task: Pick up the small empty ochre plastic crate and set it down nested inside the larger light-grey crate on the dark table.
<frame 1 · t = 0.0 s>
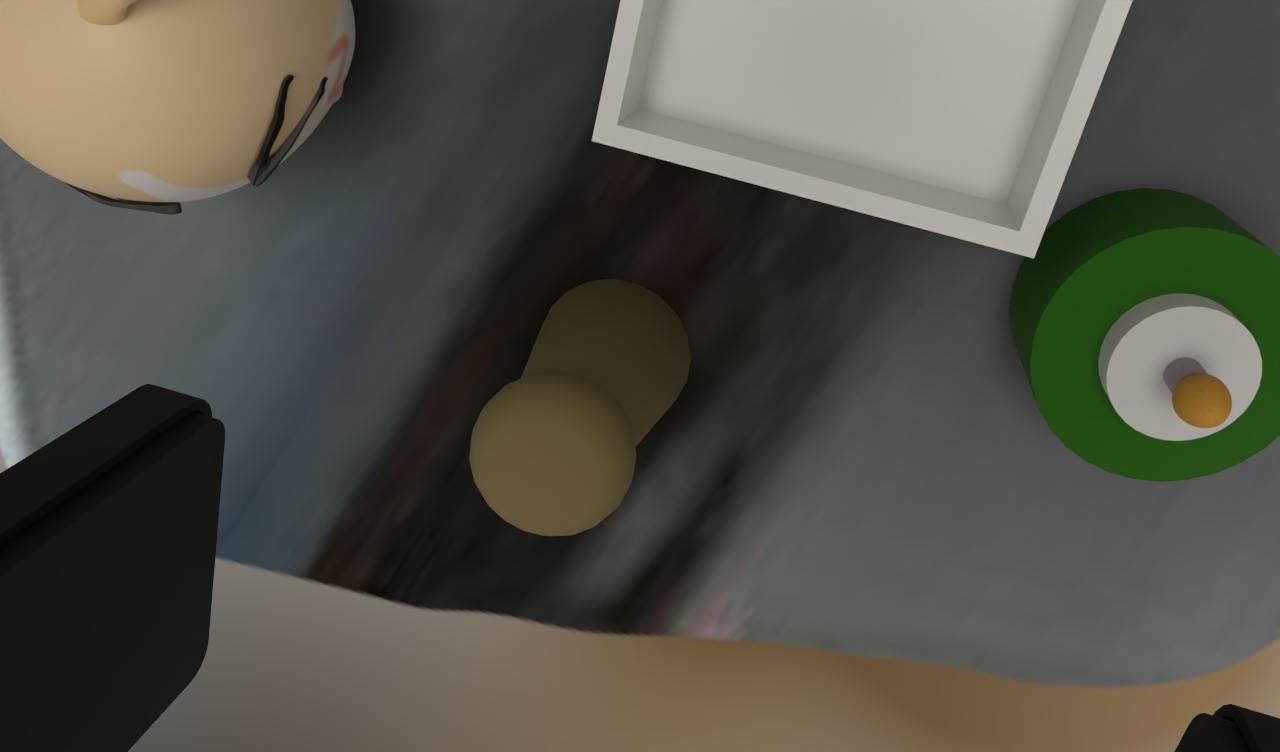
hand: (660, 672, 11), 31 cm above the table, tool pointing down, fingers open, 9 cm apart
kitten: (278, 23, 41), on the table
candle: (1131, 303, 39), on the table
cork: (615, 351, 44), on the table
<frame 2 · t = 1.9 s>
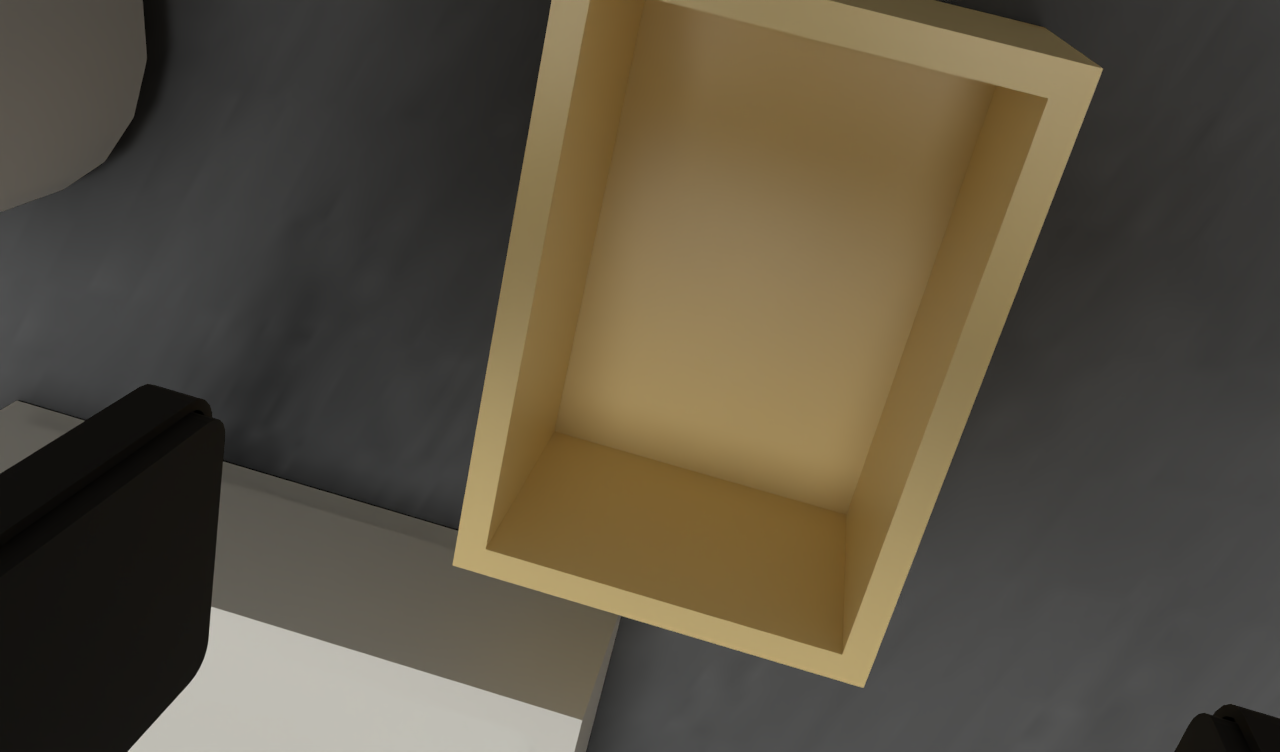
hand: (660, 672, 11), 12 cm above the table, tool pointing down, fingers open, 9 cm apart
large crate: (289, 733, 28), on the table
small crate: (759, 254, 21), on the table
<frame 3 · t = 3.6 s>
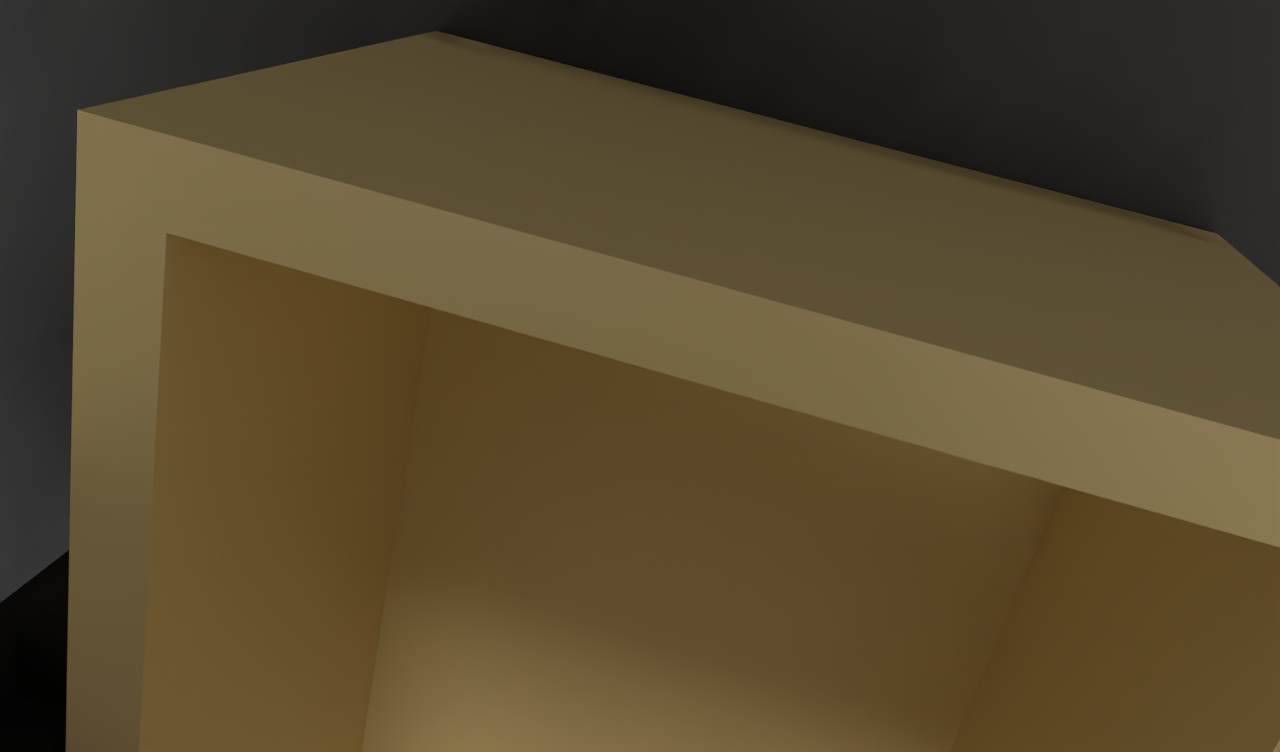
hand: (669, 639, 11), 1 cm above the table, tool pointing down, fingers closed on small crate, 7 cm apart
small crate: (681, 596, 12), on the table, touching gripper
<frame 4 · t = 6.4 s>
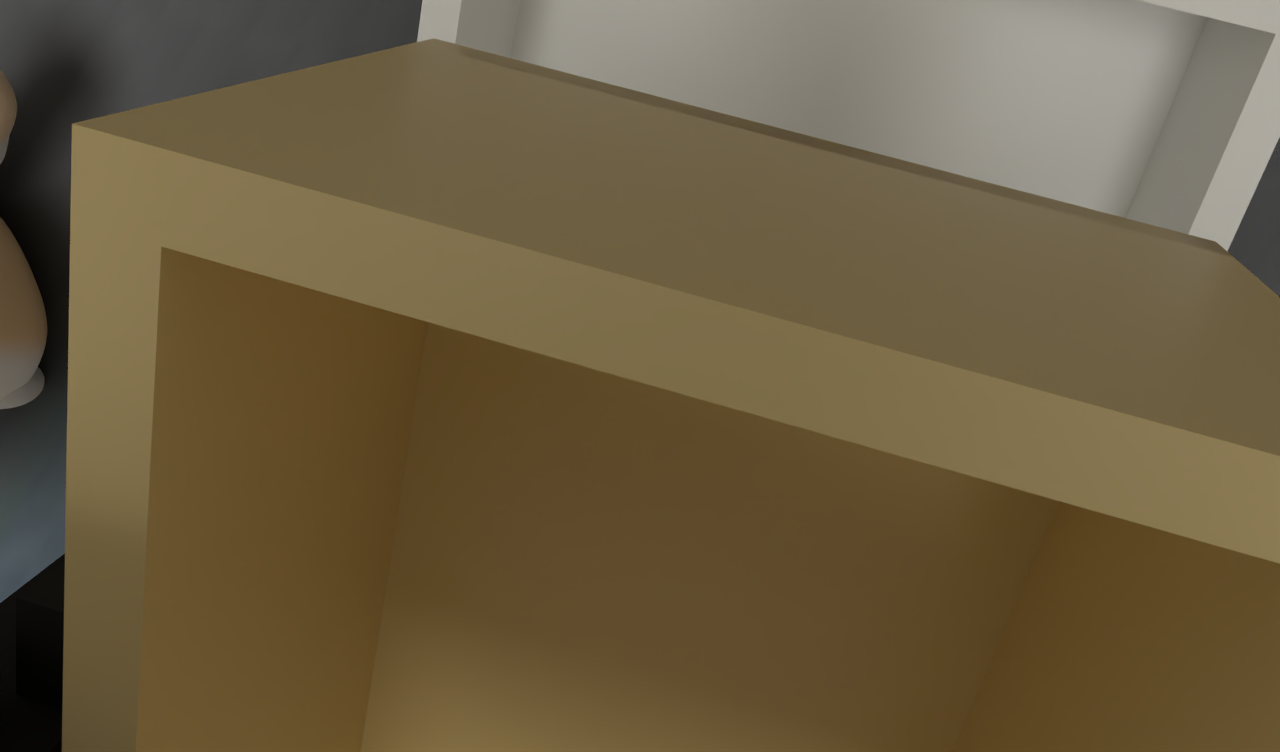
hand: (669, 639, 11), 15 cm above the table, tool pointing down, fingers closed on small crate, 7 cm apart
large crate: (780, 242, 25), on the table
small crate: (679, 603, 12), point 14 cm above the table, touching gripper
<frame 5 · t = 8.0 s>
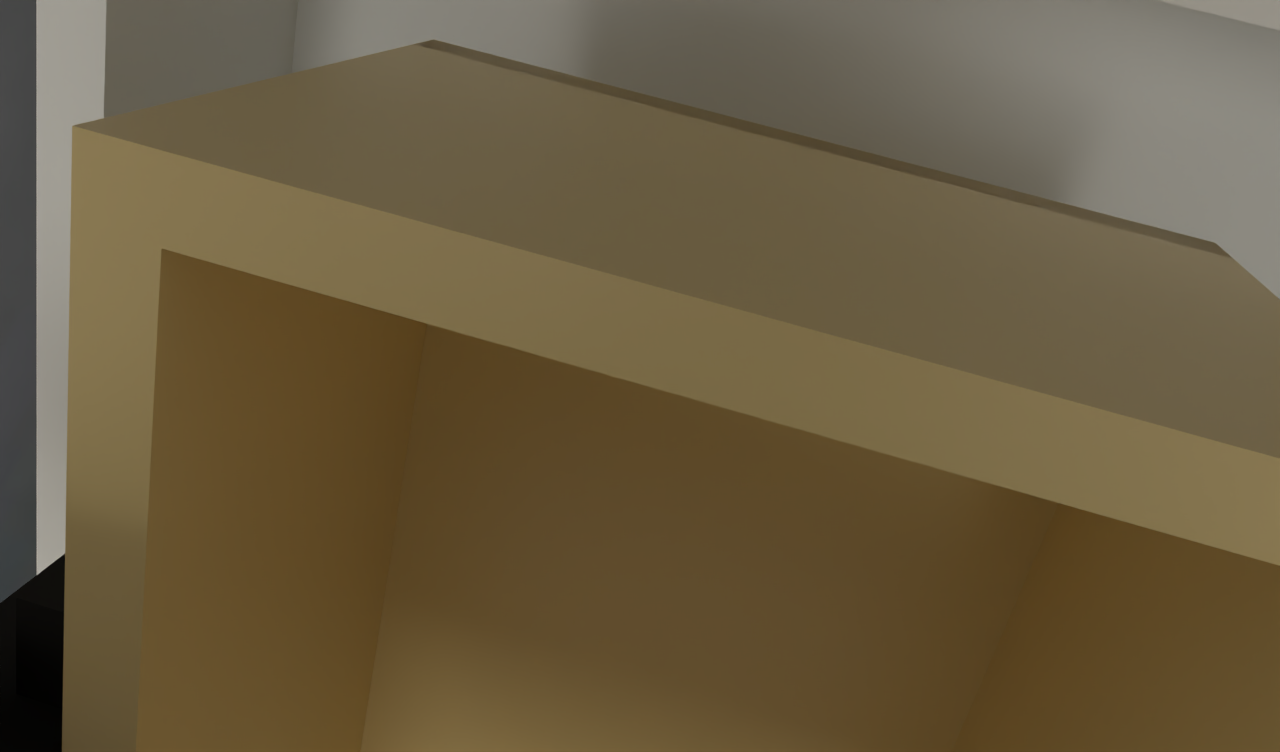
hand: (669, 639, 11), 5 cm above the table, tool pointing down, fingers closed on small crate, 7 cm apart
large crate: (730, 422, 15), on the table
small crate: (679, 603, 12), point 4 cm above the table, touching gripper
when the fingers open (4 cm above the table, at t = 9.2 s): small crate drops 3 cm, resting on large crate.
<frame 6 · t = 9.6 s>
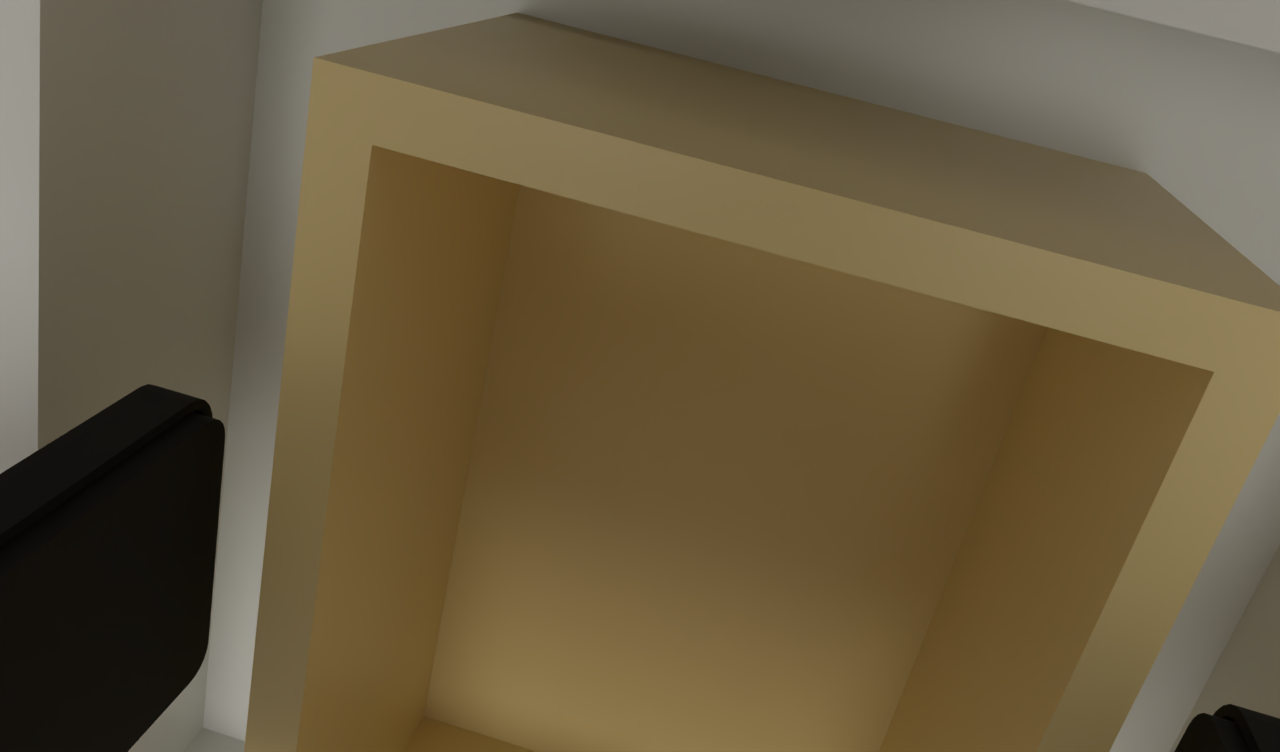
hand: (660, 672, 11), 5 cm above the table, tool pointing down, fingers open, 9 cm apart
large crate: (719, 461, 15), on the table, touching small crate
small crate: (712, 485, 14), point 1 cm above the table, touching large crate
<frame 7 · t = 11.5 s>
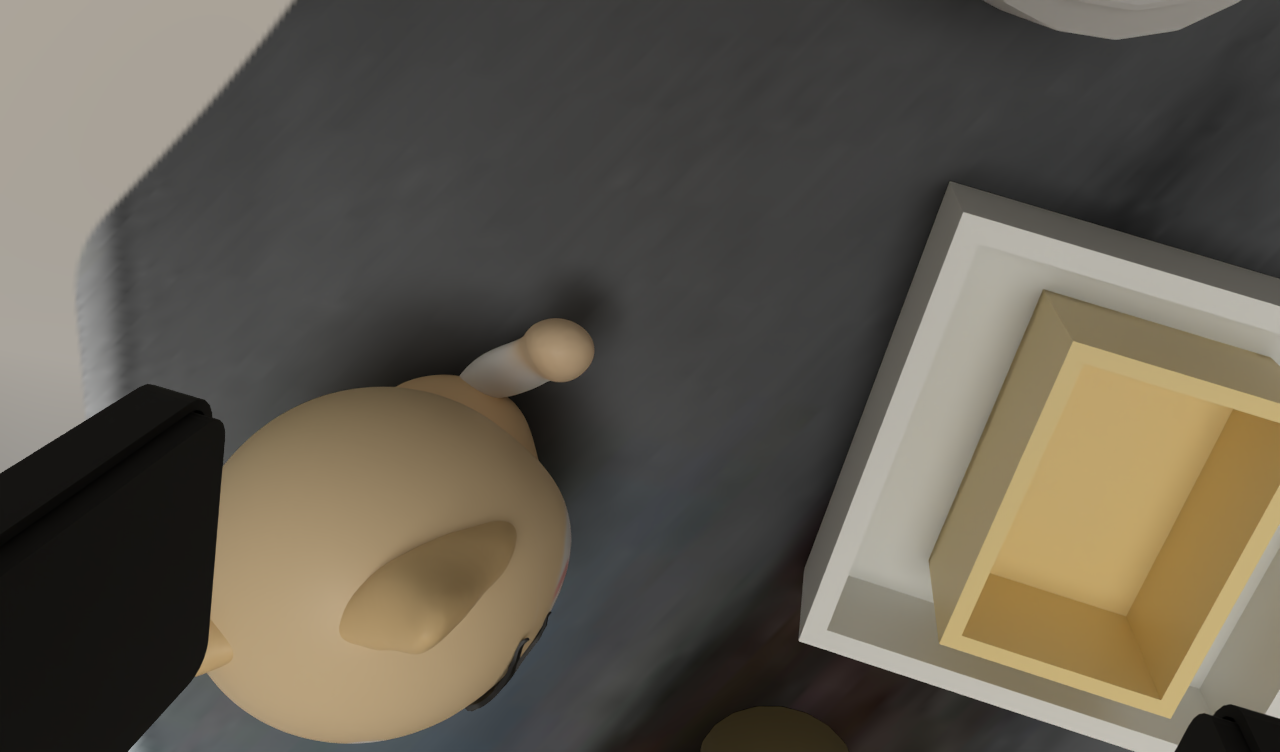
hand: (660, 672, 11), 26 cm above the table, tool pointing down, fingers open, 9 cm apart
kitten: (454, 447, 41), on the table
large crate: (1085, 456, 36), on the table, touching small crate
small crate: (1089, 464, 36), point 1 cm above the table, touching large crate
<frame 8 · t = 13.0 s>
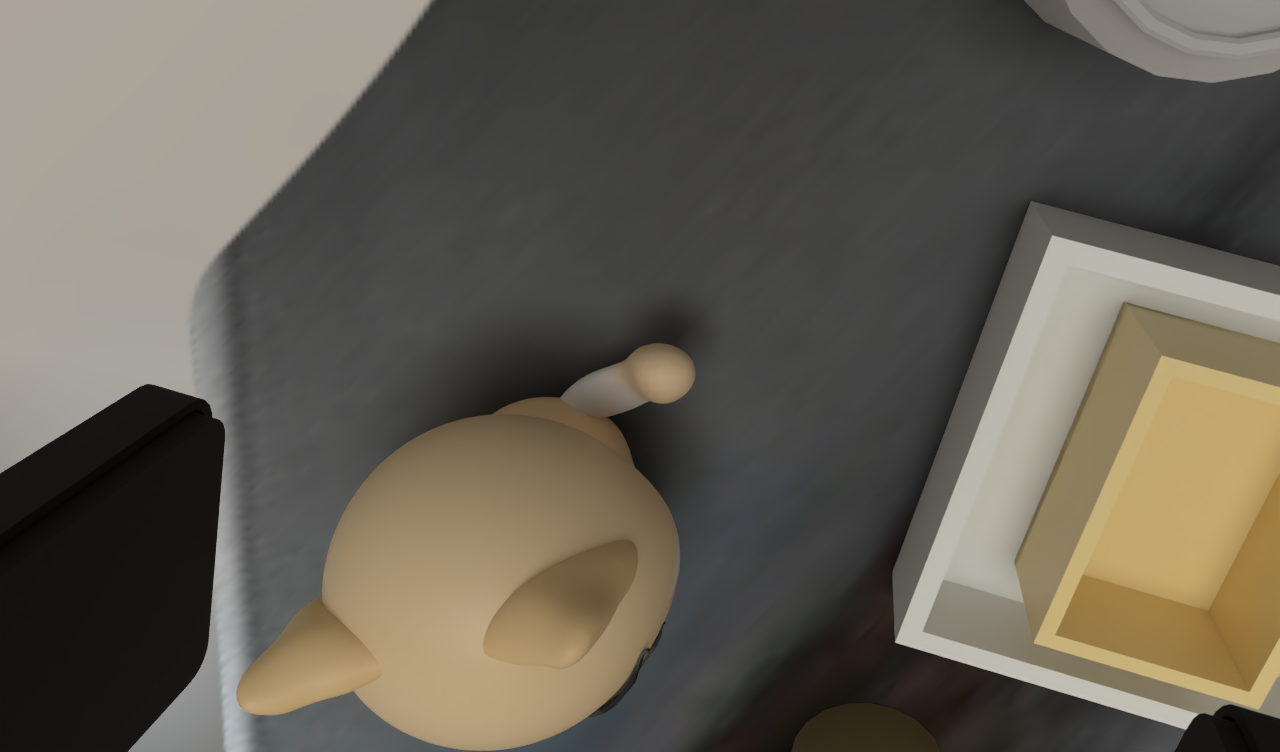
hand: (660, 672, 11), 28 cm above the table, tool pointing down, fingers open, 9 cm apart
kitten: (553, 464, 43), on the table
large crate: (1165, 458, 38), on the table, touching small crate
small crate: (1170, 467, 37), point 1 cm above the table, touching large crate
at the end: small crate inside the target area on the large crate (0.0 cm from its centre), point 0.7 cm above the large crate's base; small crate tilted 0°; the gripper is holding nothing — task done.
